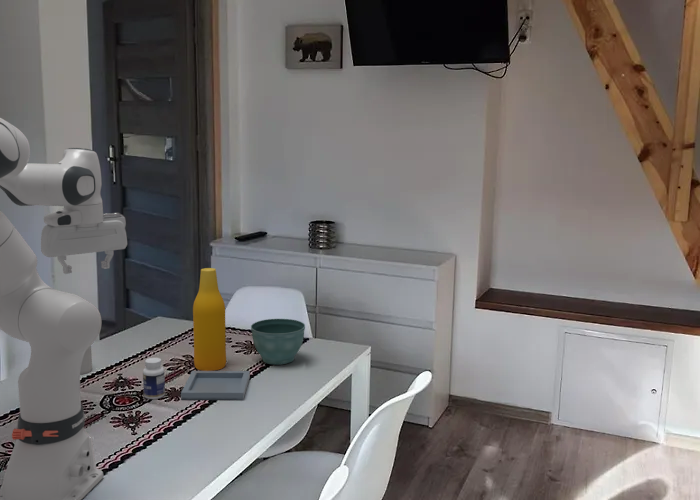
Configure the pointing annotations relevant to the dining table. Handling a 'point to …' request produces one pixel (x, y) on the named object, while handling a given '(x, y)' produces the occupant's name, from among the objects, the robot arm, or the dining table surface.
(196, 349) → the beer bottle
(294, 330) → the flower pot
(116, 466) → the dining table surface
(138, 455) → the dining table surface
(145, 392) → the pill bottle
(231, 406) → the dining table surface
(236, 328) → the dining table surface
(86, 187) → the robot arm
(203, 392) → the dish
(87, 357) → the cup
